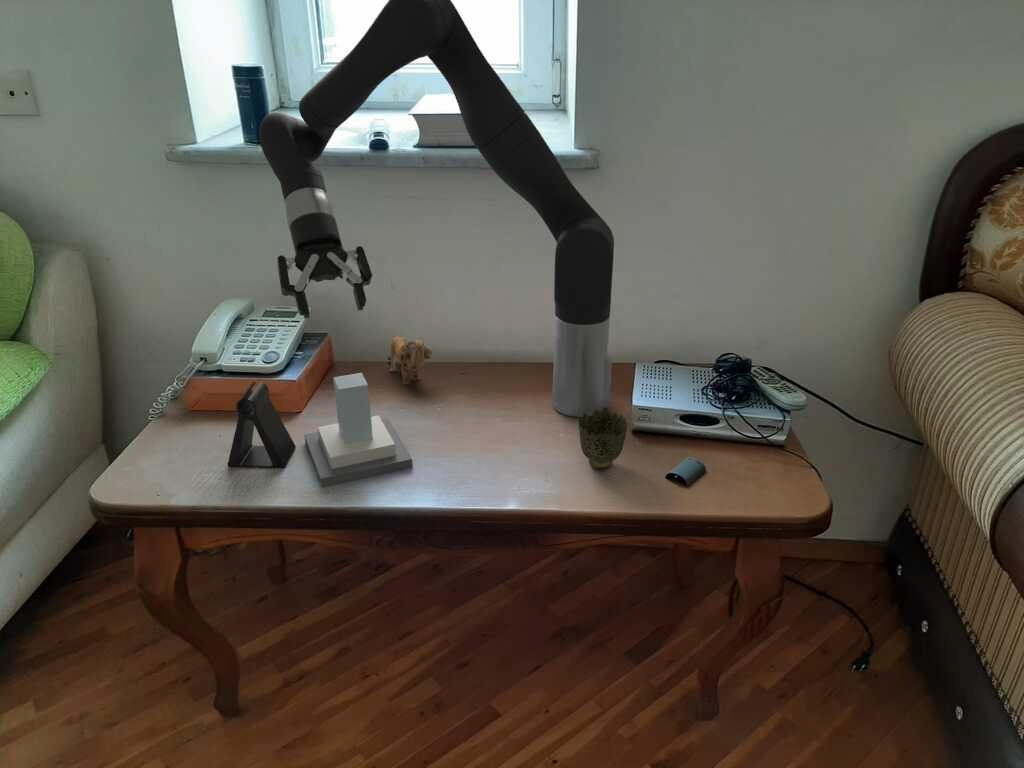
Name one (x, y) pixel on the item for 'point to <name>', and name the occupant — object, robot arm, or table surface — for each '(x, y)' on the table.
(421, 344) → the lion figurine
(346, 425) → the blue-grey block
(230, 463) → the black phone stand
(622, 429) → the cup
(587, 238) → the robot arm
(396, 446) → the display stand
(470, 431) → the table surface
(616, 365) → the table surface
